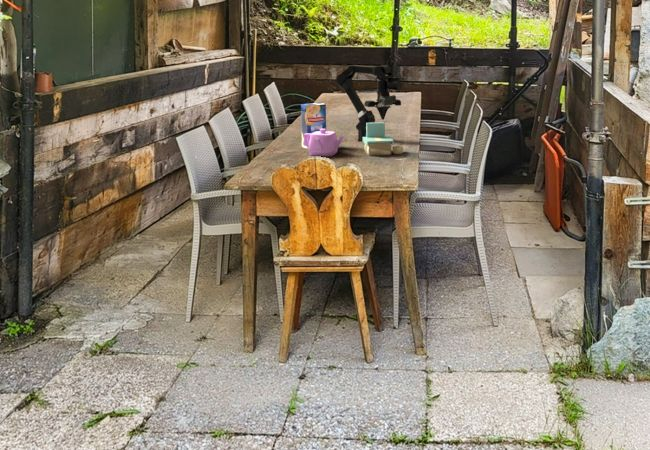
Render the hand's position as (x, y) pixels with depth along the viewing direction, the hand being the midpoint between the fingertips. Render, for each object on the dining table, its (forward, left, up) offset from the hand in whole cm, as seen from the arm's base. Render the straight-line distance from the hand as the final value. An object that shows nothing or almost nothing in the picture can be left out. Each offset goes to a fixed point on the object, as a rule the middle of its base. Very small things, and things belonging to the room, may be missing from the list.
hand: (382, 119), depth 447 cm
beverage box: (-33, -20, -12) cm, 40 cm away
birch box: (+3, -33, -12) cm, 35 cm away
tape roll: (+13, -32, -12) cm, 37 cm away
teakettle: (-23, -40, -12) cm, 47 cm away
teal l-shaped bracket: (+3, -34, -7) cm, 35 cm away
